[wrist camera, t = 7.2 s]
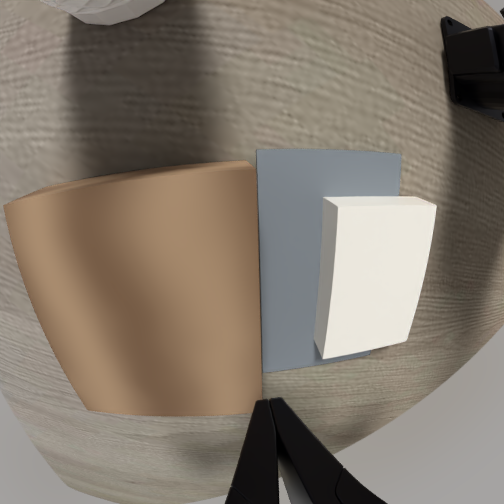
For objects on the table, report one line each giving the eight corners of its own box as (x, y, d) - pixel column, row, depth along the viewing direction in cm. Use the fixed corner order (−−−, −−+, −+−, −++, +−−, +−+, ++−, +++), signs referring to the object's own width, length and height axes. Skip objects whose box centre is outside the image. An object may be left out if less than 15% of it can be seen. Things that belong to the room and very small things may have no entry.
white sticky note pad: (338, 206, 12) (323, 196, 14) (322, 359, 16) (313, 338, 18) (436, 205, 13) (415, 196, 15) (406, 341, 16) (392, 324, 18)
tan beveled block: (245, 160, 13) (255, 169, 10) (254, 365, 18) (262, 411, 15) (46, 186, 12) (3, 205, 9) (102, 368, 17) (87, 410, 14)
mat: (398, 153, 14) (401, 154, 14) (368, 352, 19) (369, 354, 19) (255, 149, 13) (256, 149, 13) (262, 369, 19) (262, 372, 18)
